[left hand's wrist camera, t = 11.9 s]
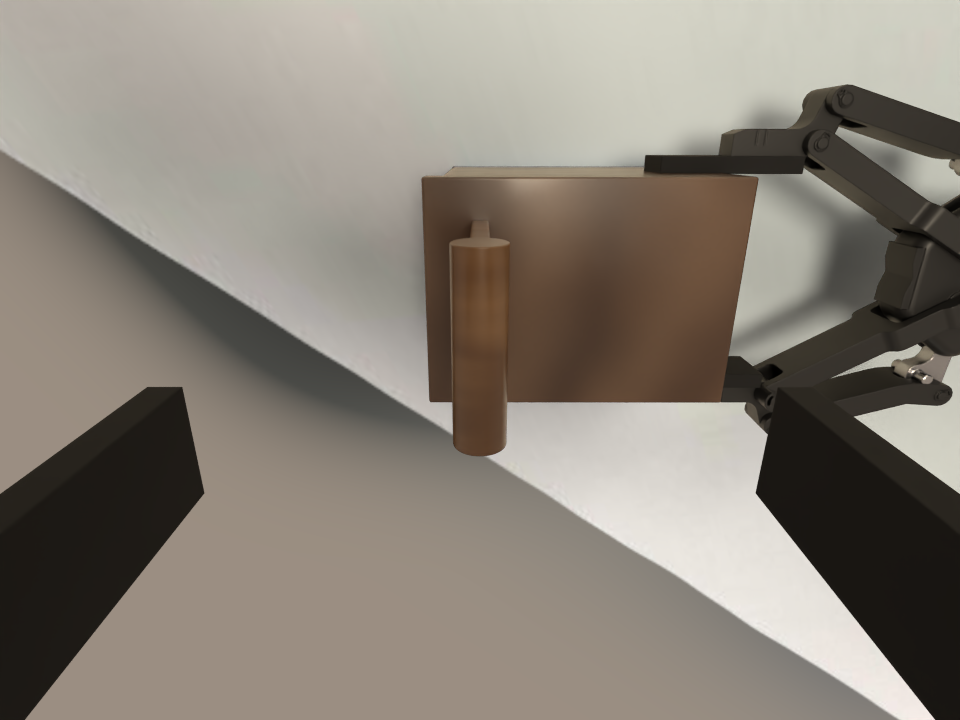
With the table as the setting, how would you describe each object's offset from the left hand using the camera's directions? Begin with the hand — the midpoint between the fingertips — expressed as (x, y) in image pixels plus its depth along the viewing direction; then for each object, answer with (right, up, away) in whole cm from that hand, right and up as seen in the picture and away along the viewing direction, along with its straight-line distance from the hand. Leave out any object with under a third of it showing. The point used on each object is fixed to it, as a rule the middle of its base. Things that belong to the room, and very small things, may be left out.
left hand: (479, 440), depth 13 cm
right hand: (+8, +6, +16) cm, 19 cm away
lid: (+4, +5, +13) cm, 14 cm away
